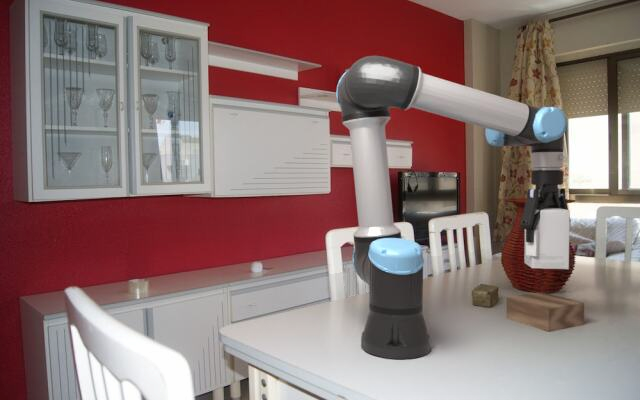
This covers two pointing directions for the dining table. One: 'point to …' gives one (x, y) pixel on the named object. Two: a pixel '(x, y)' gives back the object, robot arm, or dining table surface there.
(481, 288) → the stone block
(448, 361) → the dining table surface
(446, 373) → the dining table surface
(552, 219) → the supplement box
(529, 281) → the vase
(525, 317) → the walnut base block
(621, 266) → the dining table surface
